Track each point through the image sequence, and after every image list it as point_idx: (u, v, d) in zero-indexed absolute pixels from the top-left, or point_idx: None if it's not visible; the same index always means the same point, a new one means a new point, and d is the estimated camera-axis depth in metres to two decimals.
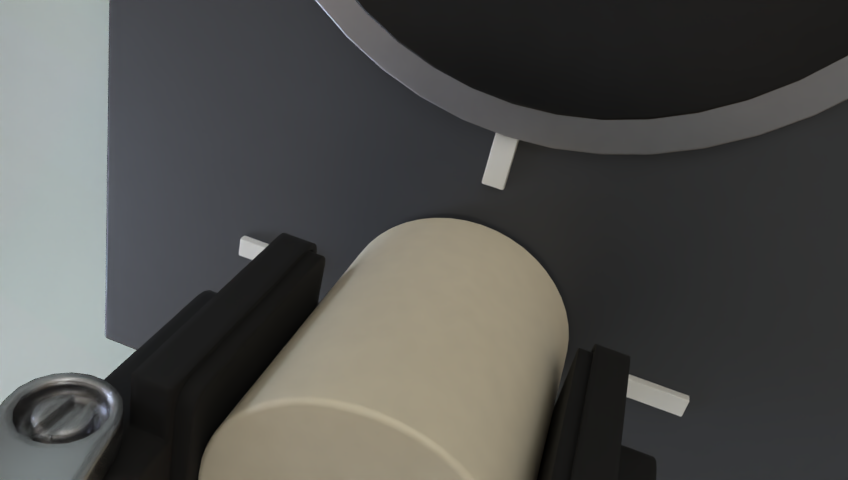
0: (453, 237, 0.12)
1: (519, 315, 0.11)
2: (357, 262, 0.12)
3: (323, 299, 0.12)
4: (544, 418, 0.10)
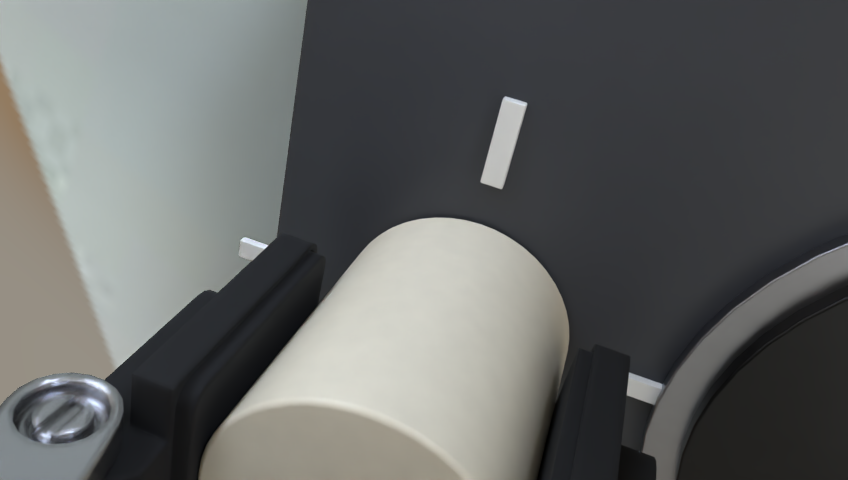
0: (453, 236, 0.12)
1: (520, 314, 0.11)
2: (357, 262, 0.12)
3: (323, 299, 0.11)
4: (544, 418, 0.10)
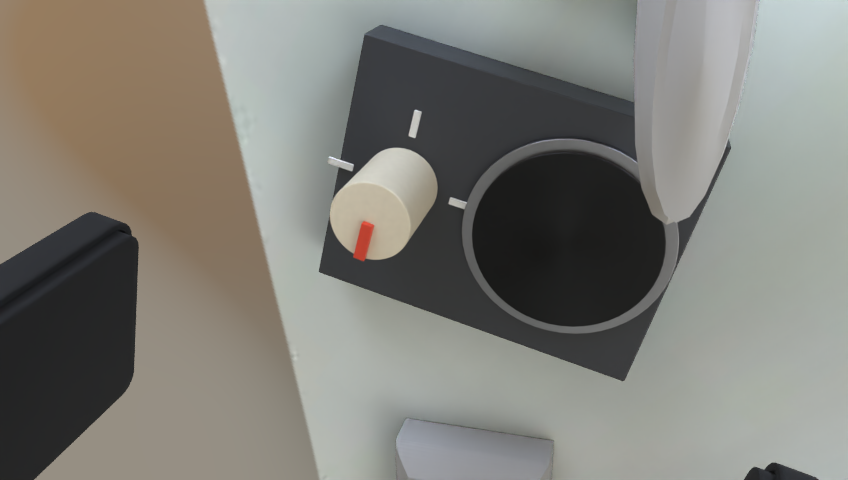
0: (400, 152, 0.39)
1: (418, 173, 0.38)
2: (370, 160, 0.39)
3: None
4: (424, 201, 0.37)
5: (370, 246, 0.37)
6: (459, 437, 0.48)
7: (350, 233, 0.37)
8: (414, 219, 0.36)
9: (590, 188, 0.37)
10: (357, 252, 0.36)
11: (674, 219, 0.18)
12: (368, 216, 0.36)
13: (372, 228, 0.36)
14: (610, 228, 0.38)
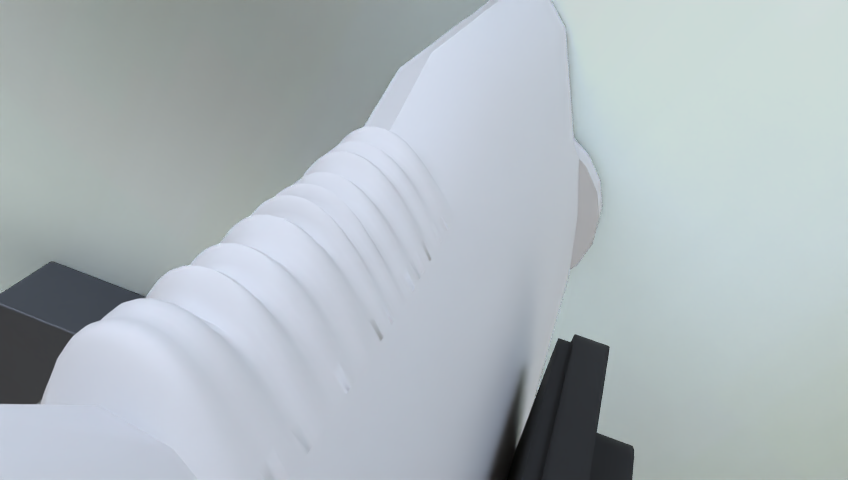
0: None
1: None
2: None
3: None
4: None
5: None
6: None
7: None
8: None
9: None
10: None
11: None
12: None
13: None
14: None
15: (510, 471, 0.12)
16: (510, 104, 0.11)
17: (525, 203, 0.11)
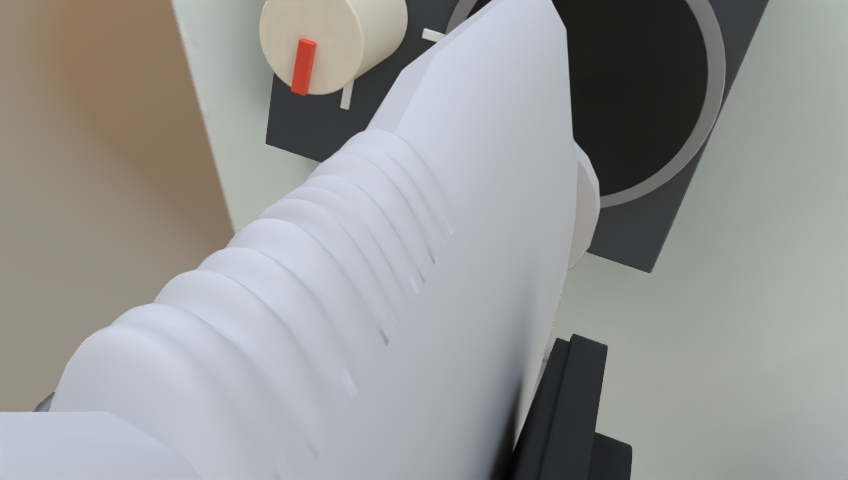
0: None
1: None
2: None
3: None
4: (385, 19, 0.28)
5: (312, 75, 0.28)
6: None
7: (286, 58, 0.28)
8: (369, 35, 0.27)
9: None
10: (295, 83, 0.28)
11: None
12: (307, 31, 0.27)
13: (314, 46, 0.27)
14: (633, 55, 0.28)
15: (509, 470, 0.12)
16: (513, 106, 0.11)
17: (526, 205, 0.11)
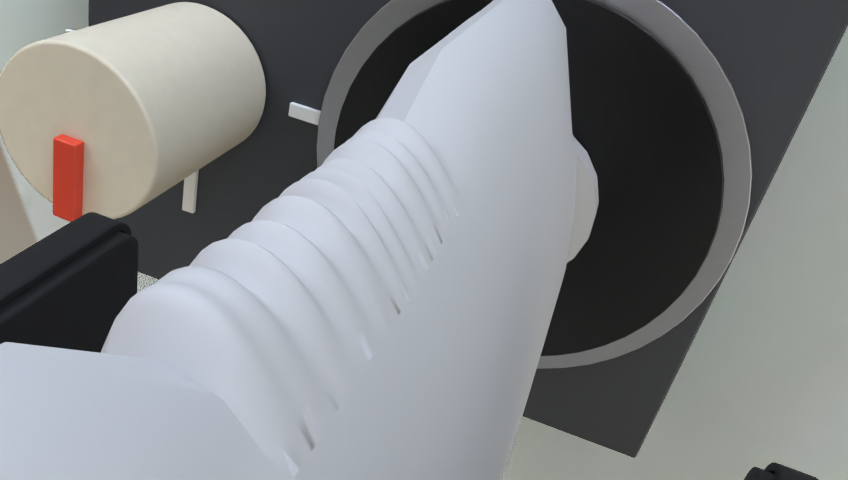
0: (181, 6, 0.19)
1: (207, 43, 0.18)
2: None
3: None
4: (212, 98, 0.18)
5: (86, 190, 0.17)
6: None
7: (43, 163, 0.17)
8: (171, 130, 0.16)
9: None
10: (58, 203, 0.17)
11: None
12: (69, 123, 0.16)
13: (78, 149, 0.16)
14: (605, 155, 0.18)
15: None
16: (515, 100, 0.12)
17: (527, 194, 0.12)
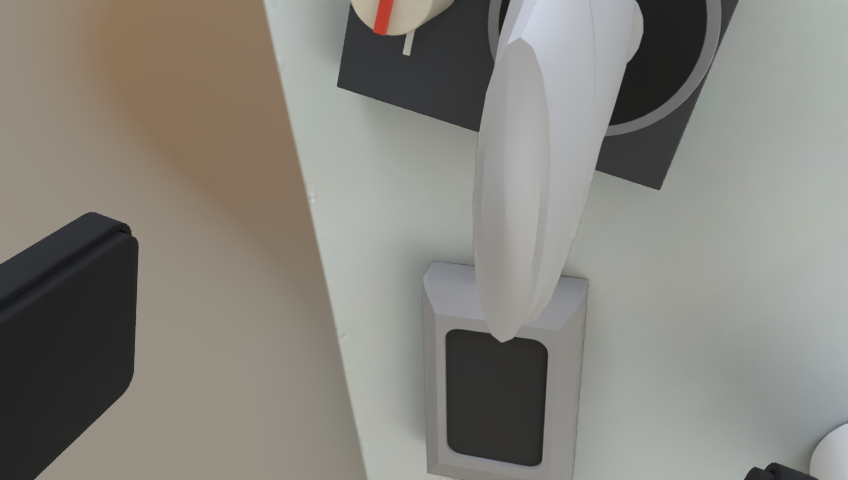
0: None
1: None
2: None
3: None
4: None
5: (391, 19, 0.34)
6: None
7: (370, 5, 0.34)
8: None
9: None
10: (377, 25, 0.34)
11: (500, 339, 0.20)
12: None
13: None
14: (647, 5, 0.35)
15: None
16: None
17: None
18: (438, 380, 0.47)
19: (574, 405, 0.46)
